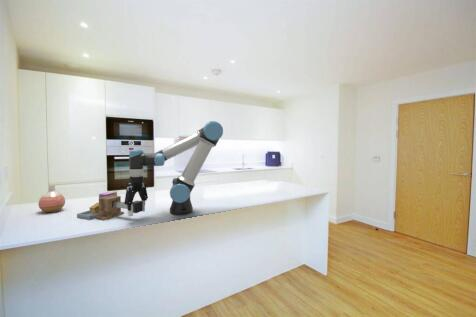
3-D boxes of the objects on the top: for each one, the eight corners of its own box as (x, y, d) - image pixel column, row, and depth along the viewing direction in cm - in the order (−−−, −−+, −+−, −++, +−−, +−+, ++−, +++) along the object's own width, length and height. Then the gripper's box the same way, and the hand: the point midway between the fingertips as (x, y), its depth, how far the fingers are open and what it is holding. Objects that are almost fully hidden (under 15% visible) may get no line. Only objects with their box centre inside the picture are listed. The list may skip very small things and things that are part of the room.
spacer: (102, 203, 144) (97, 202, 146) (93, 208, 139) (89, 207, 140) (104, 209, 146) (99, 209, 147) (96, 215, 141) (91, 214, 142)
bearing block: (123, 213, 147) (123, 195, 146) (104, 220, 133) (104, 200, 133) (115, 212, 149) (115, 194, 149) (95, 219, 136) (95, 199, 135)
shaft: (142, 210, 137) (142, 201, 136) (136, 213, 132) (136, 203, 132) (108, 206, 145) (108, 197, 144) (102, 208, 140) (101, 199, 139)
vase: (55, 214, 143) (54, 186, 142) (32, 214, 142) (31, 186, 141) (70, 208, 157) (69, 183, 156) (49, 208, 156) (48, 183, 155)
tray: (109, 213, 146) (109, 210, 146) (90, 220, 134) (90, 215, 134) (96, 212, 149) (96, 208, 149) (77, 217, 137) (77, 213, 137)
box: (106, 212, 150) (105, 194, 149) (98, 211, 151) (98, 193, 150) (117, 207, 160) (117, 191, 159) (110, 207, 161) (110, 190, 161)
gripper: (144, 173, 145) (144, 208, 146) (116, 178, 124) (116, 218, 126) (154, 174, 143) (154, 209, 144) (127, 178, 122) (127, 219, 123)
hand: (136, 213), depth 135 cm, fingers open, 9 cm apart
